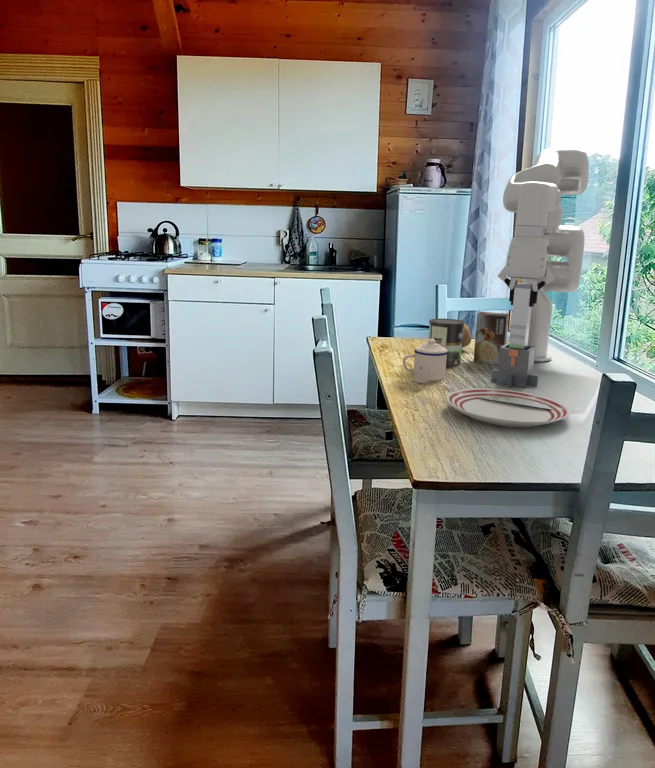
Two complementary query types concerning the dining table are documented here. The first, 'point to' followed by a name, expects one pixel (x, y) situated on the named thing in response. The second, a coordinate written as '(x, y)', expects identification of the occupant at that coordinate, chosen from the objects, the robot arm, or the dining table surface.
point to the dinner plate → (506, 408)
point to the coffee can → (448, 338)
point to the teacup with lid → (428, 362)
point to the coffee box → (490, 336)
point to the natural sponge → (466, 336)
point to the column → (520, 316)
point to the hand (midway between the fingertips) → (522, 304)
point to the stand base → (515, 367)
